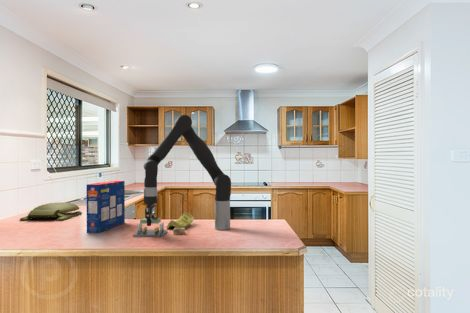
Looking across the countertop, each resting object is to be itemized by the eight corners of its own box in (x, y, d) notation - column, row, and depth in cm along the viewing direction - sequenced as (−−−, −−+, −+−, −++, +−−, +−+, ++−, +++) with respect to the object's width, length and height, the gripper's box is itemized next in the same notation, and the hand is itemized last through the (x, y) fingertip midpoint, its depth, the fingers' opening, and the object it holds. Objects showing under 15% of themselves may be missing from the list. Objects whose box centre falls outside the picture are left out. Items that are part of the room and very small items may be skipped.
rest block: (185, 233, 187) (185, 227, 187) (183, 234, 183) (183, 229, 183) (174, 233, 187) (174, 227, 187) (173, 234, 184) (173, 229, 184)
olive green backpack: (62, 221, 221) (62, 207, 221) (17, 221, 221) (17, 207, 221) (86, 212, 256) (86, 200, 256) (47, 212, 256) (47, 200, 256)
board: (160, 221, 187) (160, 216, 187) (158, 223, 181) (158, 218, 181) (143, 221, 188) (143, 216, 188) (140, 223, 182) (140, 218, 182)
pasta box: (113, 222, 216) (113, 180, 216) (124, 223, 215) (124, 180, 215) (86, 232, 189) (86, 184, 189) (99, 233, 187) (98, 184, 187)
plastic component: (183, 226, 193) (169, 218, 195) (179, 237, 195) (165, 229, 197) (196, 218, 212) (183, 210, 214) (192, 227, 214) (179, 220, 216)
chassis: (167, 231, 190) (167, 221, 190) (162, 236, 178) (162, 225, 178) (139, 231, 191) (139, 221, 191) (133, 236, 179) (133, 225, 179)
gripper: (153, 196, 177) (153, 227, 177) (160, 193, 192) (160, 222, 192) (140, 196, 177) (140, 227, 177) (147, 193, 192) (147, 222, 192)
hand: (150, 224), depth 184 cm, fingers closed on board, 6 cm apart
